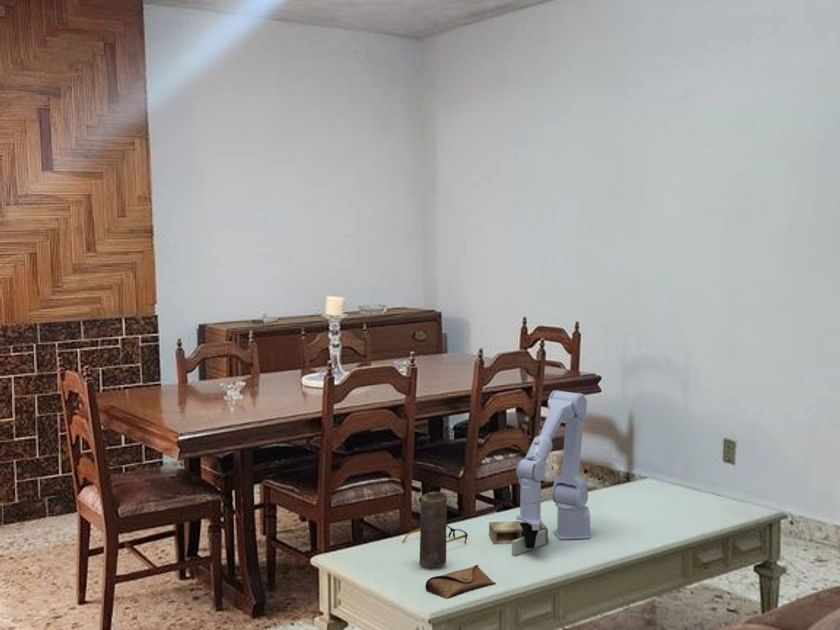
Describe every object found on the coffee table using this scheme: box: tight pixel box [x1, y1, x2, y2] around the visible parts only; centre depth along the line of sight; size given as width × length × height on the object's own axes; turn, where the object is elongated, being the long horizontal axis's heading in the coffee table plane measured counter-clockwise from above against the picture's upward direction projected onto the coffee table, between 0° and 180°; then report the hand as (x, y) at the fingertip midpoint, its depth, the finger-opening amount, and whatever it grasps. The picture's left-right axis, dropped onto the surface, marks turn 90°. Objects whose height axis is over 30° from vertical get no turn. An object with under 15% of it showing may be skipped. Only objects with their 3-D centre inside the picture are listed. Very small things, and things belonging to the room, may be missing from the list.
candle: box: [419, 491, 448, 569], centre depth 269 cm, size 8×7×20 cm
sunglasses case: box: [425, 564, 497, 600], centre depth 255 cm, size 18×7×7 cm, turn 129°
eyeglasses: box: [401, 524, 469, 544], centre depth 289 cm, size 14×14×4 cm
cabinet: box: [488, 520, 548, 545], centre depth 293 cm, size 16×8×4 cm, turn 96°
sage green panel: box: [511, 528, 549, 557], centre depth 283 cm, size 16×1×4 cm, turn 135°
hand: (530, 547), depth 280 cm, fingers closed
